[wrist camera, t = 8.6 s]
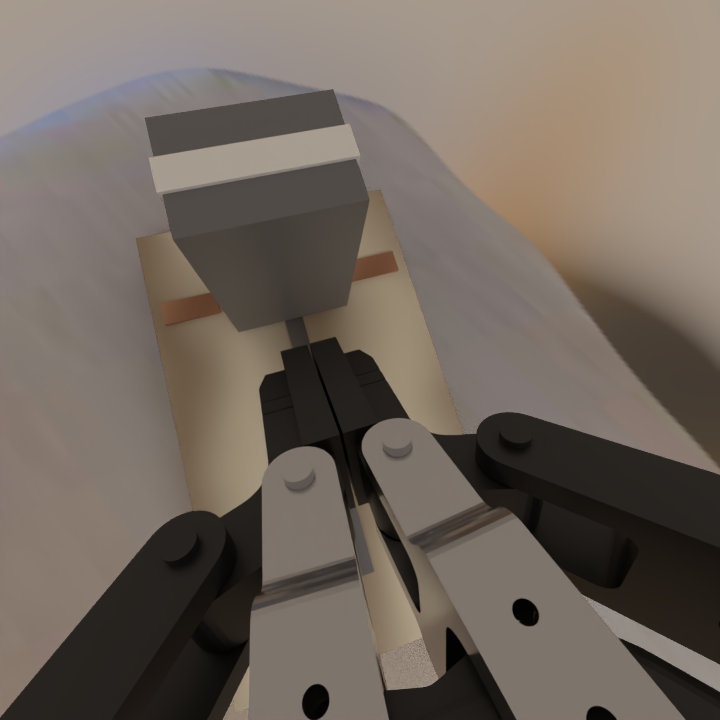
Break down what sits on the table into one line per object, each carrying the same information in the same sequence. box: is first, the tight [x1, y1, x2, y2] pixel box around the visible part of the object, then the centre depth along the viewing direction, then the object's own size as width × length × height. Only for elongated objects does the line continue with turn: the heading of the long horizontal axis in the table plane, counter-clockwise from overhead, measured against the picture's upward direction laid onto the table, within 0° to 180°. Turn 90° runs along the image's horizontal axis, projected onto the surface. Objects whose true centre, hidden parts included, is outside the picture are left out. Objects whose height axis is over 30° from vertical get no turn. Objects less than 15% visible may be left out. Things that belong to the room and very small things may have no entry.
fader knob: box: [145, 89, 370, 332], centre depth 14 cm, size 5×4×8 cm
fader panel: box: [136, 190, 464, 713], centre depth 18 cm, size 12×20×2 cm, turn 16°
